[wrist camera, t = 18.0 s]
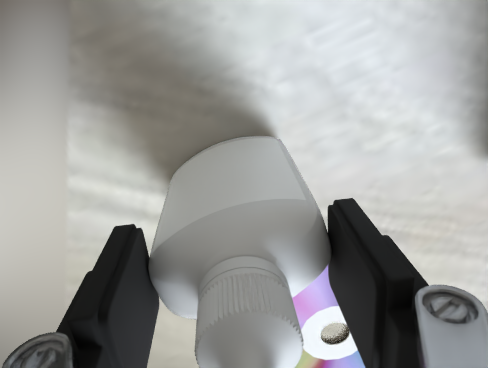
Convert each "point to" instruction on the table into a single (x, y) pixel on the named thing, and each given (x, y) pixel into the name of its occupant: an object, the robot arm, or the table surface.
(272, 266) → the eye dropper bottle
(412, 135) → the table surface
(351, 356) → the cd
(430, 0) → the table surface
